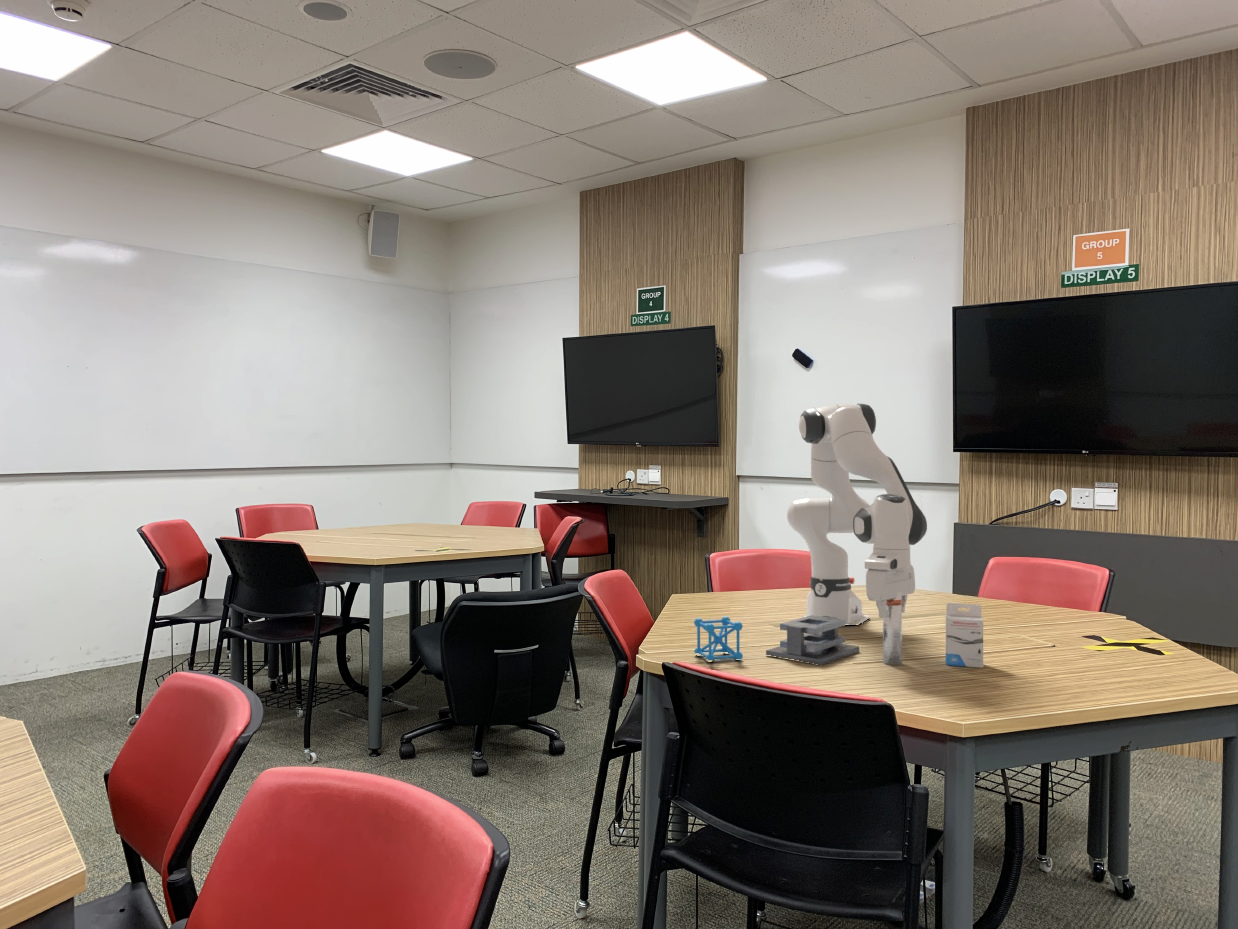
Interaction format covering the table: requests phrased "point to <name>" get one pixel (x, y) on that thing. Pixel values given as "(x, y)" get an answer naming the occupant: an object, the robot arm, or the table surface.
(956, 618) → the ink box
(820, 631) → the collar stand
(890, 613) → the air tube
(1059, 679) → the table surface
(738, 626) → the molecular structure
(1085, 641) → the table surface
